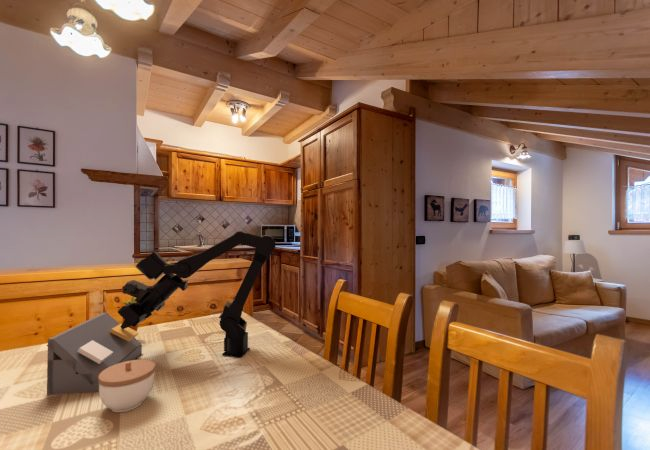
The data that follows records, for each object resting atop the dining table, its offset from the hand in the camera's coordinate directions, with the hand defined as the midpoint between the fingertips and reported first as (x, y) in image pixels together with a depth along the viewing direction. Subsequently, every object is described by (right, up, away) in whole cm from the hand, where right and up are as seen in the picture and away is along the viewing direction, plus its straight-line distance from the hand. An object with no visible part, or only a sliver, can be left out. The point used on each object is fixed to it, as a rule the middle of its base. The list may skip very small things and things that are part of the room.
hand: (122, 327), depth 89 cm
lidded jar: (+16, -10, -22) cm, 29 cm away
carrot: (-7, -10, +14) cm, 18 cm away
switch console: (0, -9, -7) cm, 12 cm away
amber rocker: (+1, -4, 0) cm, 4 cm away
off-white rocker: (+3, -4, -14) cm, 15 cm away
